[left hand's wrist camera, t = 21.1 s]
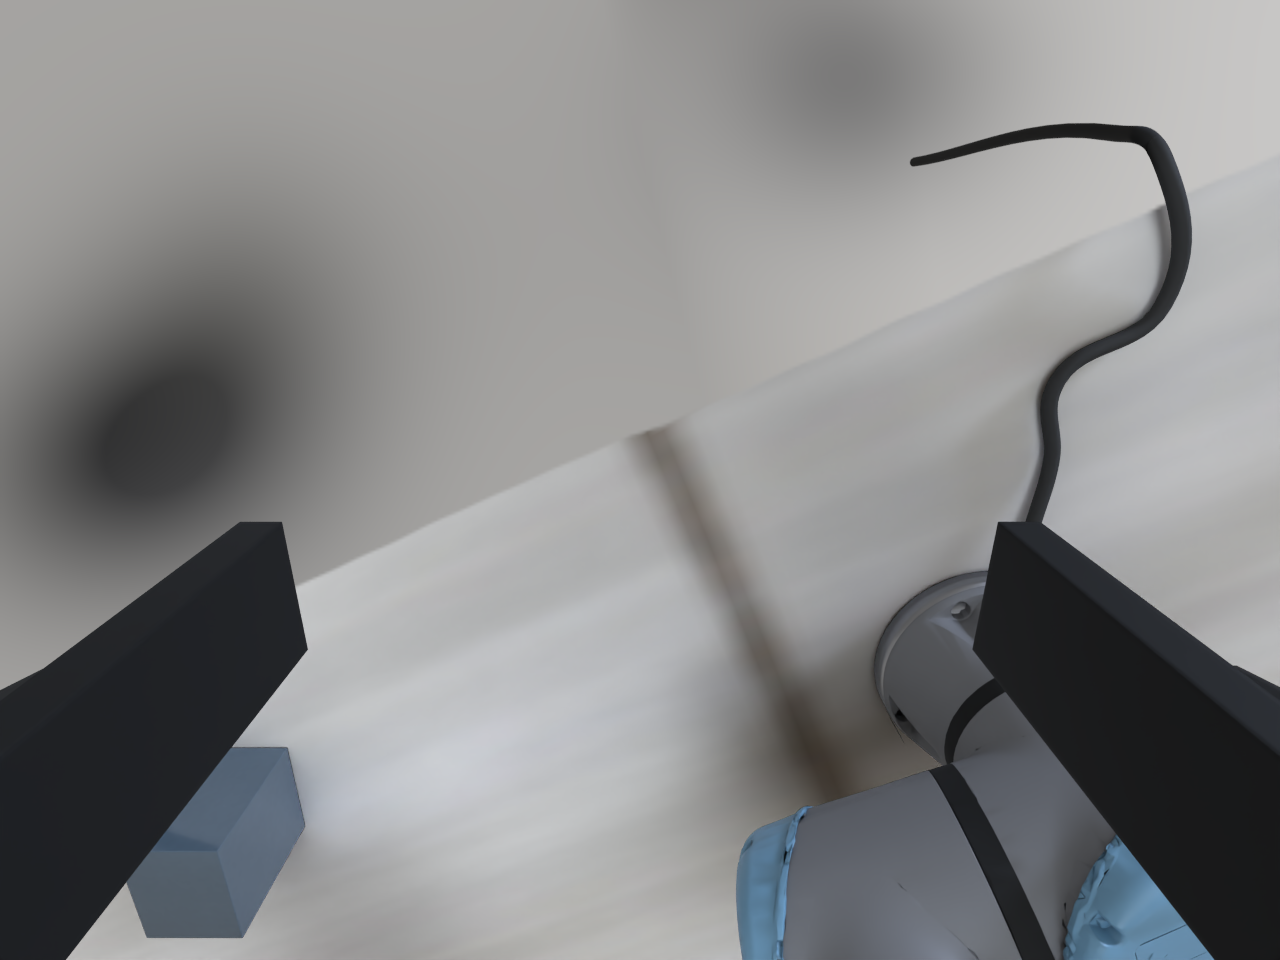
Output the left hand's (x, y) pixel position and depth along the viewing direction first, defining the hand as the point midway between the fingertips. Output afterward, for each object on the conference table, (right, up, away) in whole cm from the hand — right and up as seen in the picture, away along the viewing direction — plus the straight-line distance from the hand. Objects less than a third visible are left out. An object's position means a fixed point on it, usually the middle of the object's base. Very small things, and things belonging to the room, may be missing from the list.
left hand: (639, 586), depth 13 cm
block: (-32, -24, +44) cm, 60 cm away
